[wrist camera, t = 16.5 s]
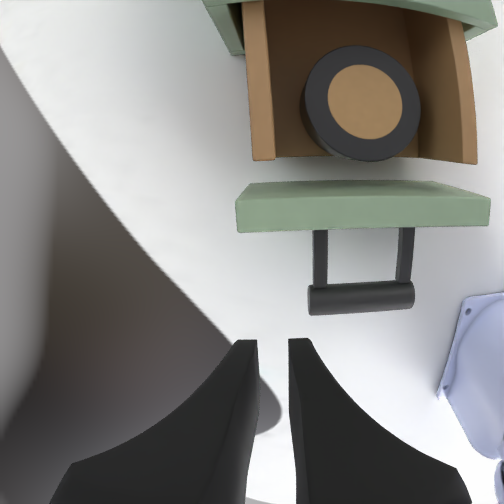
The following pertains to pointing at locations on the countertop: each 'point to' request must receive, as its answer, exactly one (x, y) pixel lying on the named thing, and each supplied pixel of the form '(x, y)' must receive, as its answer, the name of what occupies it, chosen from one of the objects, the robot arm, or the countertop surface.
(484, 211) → the drawer
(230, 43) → the cabinet
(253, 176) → the countertop surface
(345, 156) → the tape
